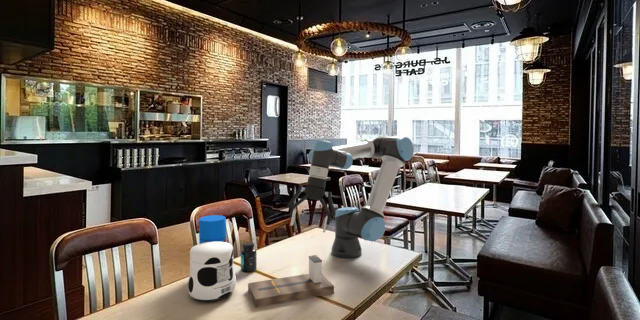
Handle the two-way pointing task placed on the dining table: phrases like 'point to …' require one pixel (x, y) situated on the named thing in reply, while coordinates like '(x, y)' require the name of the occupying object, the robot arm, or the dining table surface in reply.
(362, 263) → the dining table surface
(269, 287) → the wooden slotted board
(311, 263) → the fader
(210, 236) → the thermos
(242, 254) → the supplement bottle
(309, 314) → the dining table surface
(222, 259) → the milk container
